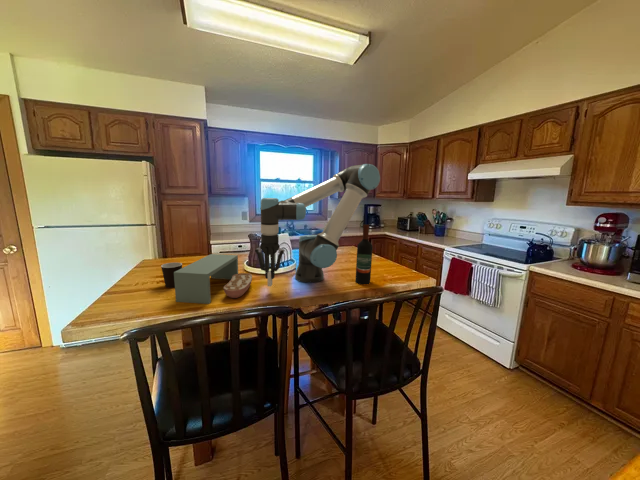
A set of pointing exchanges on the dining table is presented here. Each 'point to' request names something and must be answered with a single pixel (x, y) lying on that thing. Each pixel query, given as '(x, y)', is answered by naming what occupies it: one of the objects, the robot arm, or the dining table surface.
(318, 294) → the dining table surface
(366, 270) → the wine bottle
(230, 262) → the stand
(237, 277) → the brown bread loaf
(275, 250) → the robot arm
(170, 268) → the coffee mug
